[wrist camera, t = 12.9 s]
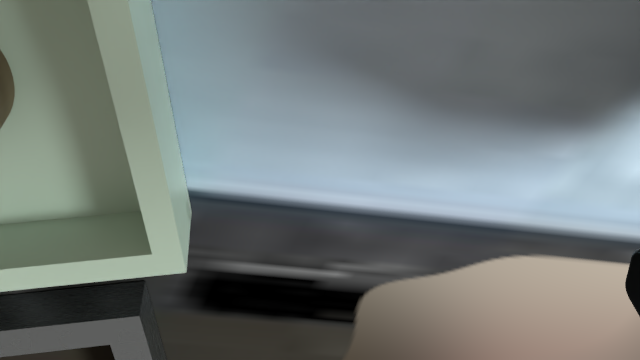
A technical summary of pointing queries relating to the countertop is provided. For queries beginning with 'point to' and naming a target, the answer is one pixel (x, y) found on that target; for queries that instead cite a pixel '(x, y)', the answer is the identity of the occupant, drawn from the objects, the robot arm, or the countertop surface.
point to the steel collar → (82, 321)
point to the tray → (88, 147)
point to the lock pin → (5, 89)
